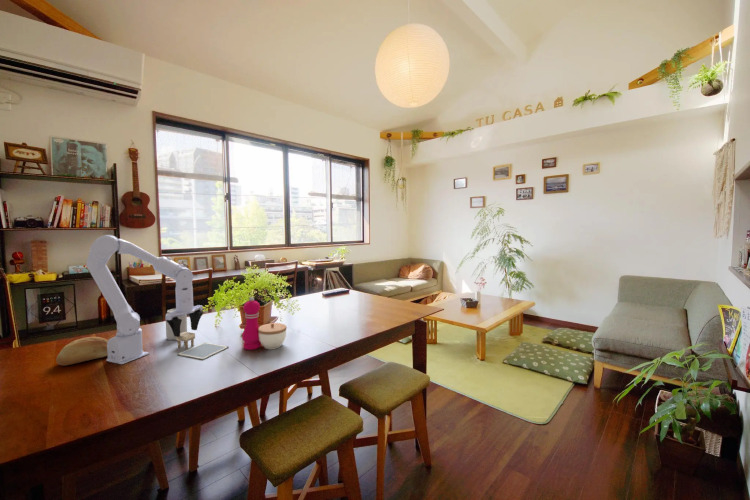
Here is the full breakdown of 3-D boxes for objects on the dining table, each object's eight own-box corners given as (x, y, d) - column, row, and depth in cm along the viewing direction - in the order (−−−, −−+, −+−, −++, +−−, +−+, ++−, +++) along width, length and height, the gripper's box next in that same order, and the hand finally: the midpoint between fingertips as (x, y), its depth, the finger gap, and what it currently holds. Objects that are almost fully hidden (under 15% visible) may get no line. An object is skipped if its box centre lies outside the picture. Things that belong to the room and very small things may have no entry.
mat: (202, 360, 112) (202, 358, 112) (177, 355, 116) (177, 353, 116) (228, 347, 123) (228, 346, 123) (204, 343, 127) (204, 342, 127)
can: (191, 335, 136) (190, 307, 135) (178, 341, 129) (177, 312, 128) (175, 334, 137) (174, 307, 136) (161, 340, 130) (160, 311, 129)
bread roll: (116, 358, 112) (115, 336, 112) (57, 372, 101) (55, 347, 101) (112, 350, 119) (111, 329, 118) (56, 362, 108) (54, 340, 107)
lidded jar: (252, 348, 123) (251, 324, 122) (272, 339, 133) (272, 317, 132) (272, 353, 118) (272, 329, 117) (292, 344, 128) (292, 321, 127)
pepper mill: (255, 351, 120) (255, 299, 119) (238, 349, 122) (237, 298, 120) (265, 344, 127) (265, 295, 126) (248, 342, 129) (248, 294, 127)
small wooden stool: (195, 345, 125) (194, 333, 124) (186, 349, 121) (186, 336, 120) (185, 343, 126) (185, 331, 126) (176, 347, 122) (176, 335, 122)
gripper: (175, 304, 114) (176, 340, 115) (207, 295, 127) (209, 328, 129) (160, 302, 116) (162, 338, 117) (194, 294, 130) (195, 326, 131)
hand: (185, 332), depth 123 cm, fingers open, 7 cm apart
